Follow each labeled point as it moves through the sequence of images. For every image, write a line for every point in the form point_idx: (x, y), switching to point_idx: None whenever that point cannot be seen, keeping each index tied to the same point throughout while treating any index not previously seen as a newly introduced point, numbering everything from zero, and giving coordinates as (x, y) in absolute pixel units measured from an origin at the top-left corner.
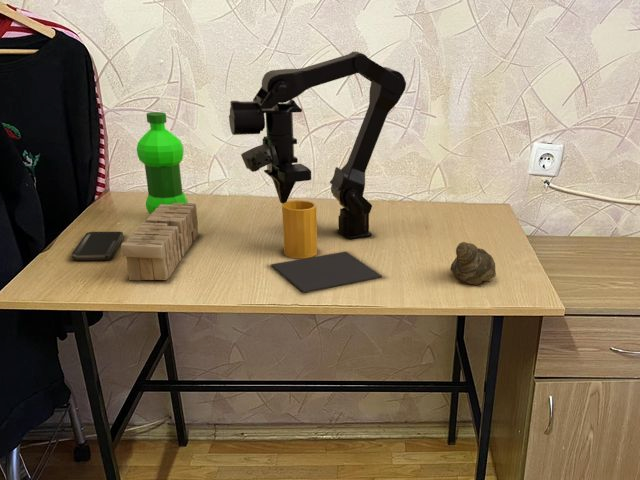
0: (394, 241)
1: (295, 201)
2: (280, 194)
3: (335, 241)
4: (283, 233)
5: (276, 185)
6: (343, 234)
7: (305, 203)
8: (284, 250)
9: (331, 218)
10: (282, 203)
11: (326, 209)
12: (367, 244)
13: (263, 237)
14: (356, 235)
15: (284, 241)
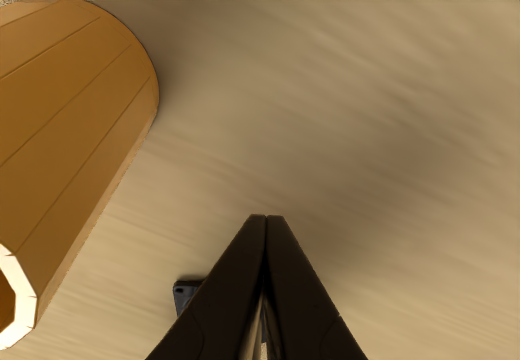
0: (123, 347)
1: (12, 287)
2: (211, 272)
3: (177, 244)
4: (3, 26)
5: (288, 354)
6: (200, 285)
7: (7, 318)
8: (68, 2)
9: (402, 321)
10: (251, 217)
11: (491, 343)
12: (117, 297)
13: (379, 8)
14: (183, 307)
15: (21, 12)
